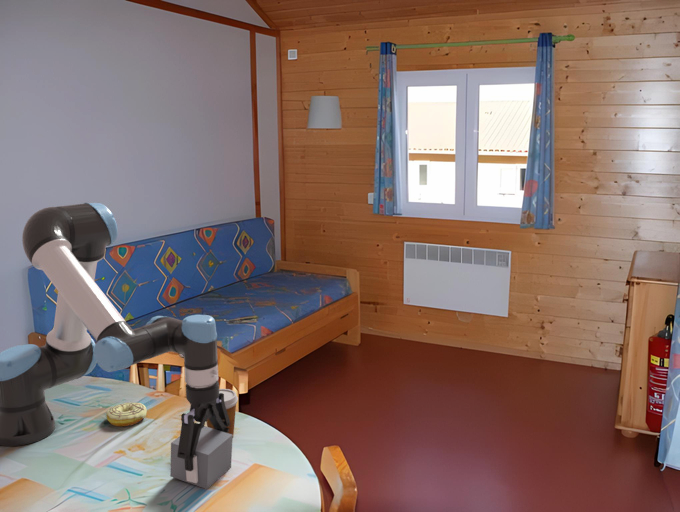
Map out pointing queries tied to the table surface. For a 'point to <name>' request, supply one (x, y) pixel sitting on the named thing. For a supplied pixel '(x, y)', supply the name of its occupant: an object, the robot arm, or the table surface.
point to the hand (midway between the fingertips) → (206, 469)
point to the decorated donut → (126, 414)
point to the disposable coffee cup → (228, 408)
